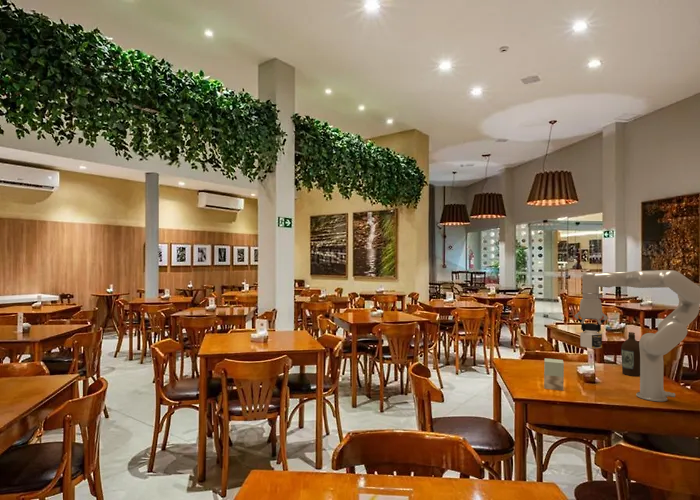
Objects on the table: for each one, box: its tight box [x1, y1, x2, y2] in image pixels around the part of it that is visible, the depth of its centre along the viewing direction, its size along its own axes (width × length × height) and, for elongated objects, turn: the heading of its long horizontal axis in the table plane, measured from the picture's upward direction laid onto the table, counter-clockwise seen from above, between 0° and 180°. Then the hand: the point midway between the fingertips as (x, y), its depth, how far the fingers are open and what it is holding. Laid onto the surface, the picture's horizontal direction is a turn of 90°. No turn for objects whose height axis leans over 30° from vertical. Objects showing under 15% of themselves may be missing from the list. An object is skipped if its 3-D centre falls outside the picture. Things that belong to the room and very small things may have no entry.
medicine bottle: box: [579, 322, 603, 349], centre depth 231 cm, size 7×7×12 cm
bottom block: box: [543, 372, 565, 392], centre depth 237 cm, size 9×9×7 cm
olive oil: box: [620, 331, 640, 377], centre depth 269 cm, size 11×11×25 cm
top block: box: [543, 358, 565, 378], centre depth 238 cm, size 9×9×7 cm
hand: (591, 331), depth 231 cm, fingers closed on medicine bottle, 6 cm apart
